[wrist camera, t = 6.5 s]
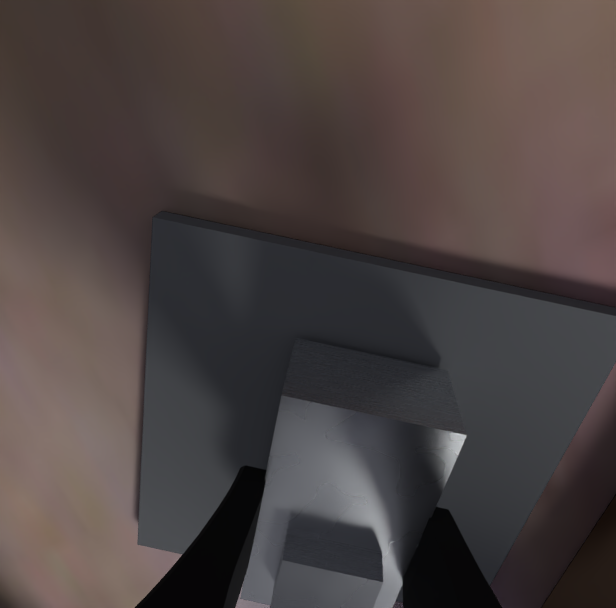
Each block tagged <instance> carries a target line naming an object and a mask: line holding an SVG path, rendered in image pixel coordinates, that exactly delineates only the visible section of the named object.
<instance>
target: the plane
mask: <svg viewBox="0 0 616 608" xmlns="http://www.w3.org/2000/svg"><path fill="white" fill-rule="evenodd" d="M542 608H616V496H615V497H614V499H613V500H612V502H611V503H610V505H609V506H608V508H607V509H606V511H605V512H604V514H603V515H602V517H601V518H600V520H599V521H598V523H597V524H596V526H595V527H594V529H593V531H592V532H591V534H590V535H589V537H588V538H587V540H586V541H585V543H584V544H583V546H582V547H581V549H580V550H579V552H578V553H577V555H576V556H575V558H574V559H573V561H572V562H571V564H570V565H569V567H568V568H567V570H566V571H565V573H564V575H563V576H562V578H561V579H560V581H559V582H558V584H557V585H556V587H555V588H554V590H553V591H552V593H551V594H550V596H549V597H548V599H547V600H546V602H545V603H544V605H543V606H542Z"/></svg>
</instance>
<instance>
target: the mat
mask: <svg viewBox="0 0 616 608" xmlns="http://www.w3.org/2000/svg"><path fill="white" fill-rule="evenodd" d="M296 338H299V339H304V340H309V341H313V342H318V343H323V344H327V345H332V346H337V347H341V348H346V349H351V350H355V351H360V352H365V353H369V354H374V355H379V356H383V357H388V358H393V359H397V360H402V361H406V362H411V363H416V364H420V365H425V366H430V367H434V368H439V369H444V370H448V374H449V377H450V380H451V384H452V387H453V390H454V394H455V397H456V400H457V404H458V407H459V411H460V414H461V417H462V421H463V424H464V427H465V431H466V434H467V436H466V438H465V441H464V443H463V445H462V448H461V450H460V452H459V455H458V457H457V459H456V462H455V464H454V466H453V469H452V471H451V473H450V476H449V478H448V480H447V482H446V485H445V487H444V489H443V492H442V494H441V496H440V499H439V501H438V503H437V506H436V507H440V508H445V509H449V511H450V513H451V514H452V516H453V518H454V520H455V522H456V524H457V526H458V528H459V530H460V532H461V534H462V536H463V538H464V540H465V542H466V543H467V545H468V547H469V549H470V551H471V553H472V555H473V557H474V559H475V560H476V562H477V564H478V566H479V568H480V570H481V572H482V573H483V575H484V577H485V579H486V580H487V582H488V584H489V586H490V585H491V583H492V581H493V579H494V578H495V576H496V574H497V572H498V570H499V569H500V567H501V565H502V563H503V562H504V560H505V558H506V556H507V554H508V553H509V551H510V549H511V547H512V546H513V544H514V542H515V540H516V538H517V537H518V535H519V533H520V531H521V530H522V528H523V526H524V524H525V522H526V521H527V519H528V517H529V515H530V514H531V512H532V510H533V508H534V506H535V505H536V503H537V501H538V499H539V498H540V496H541V494H542V492H543V490H544V489H545V487H546V485H547V483H548V482H549V480H550V478H551V476H552V474H553V473H554V471H555V469H556V467H557V466H558V464H559V462H560V460H561V458H562V457H563V455H564V453H565V451H566V450H567V448H568V446H569V444H570V442H571V441H572V439H573V437H574V435H575V434H576V432H577V430H578V428H579V426H580V425H581V423H582V421H583V419H584V418H585V416H586V414H587V412H588V410H589V409H590V407H591V405H592V403H593V402H594V400H595V398H596V396H597V394H598V393H599V391H600V389H601V387H602V386H603V384H604V382H605V380H606V378H607V377H608V375H609V373H610V371H611V370H612V368H613V366H614V364H615V362H616V308H614V307H610V306H605V305H600V304H595V303H591V302H586V301H581V300H577V299H572V298H567V297H563V296H558V295H553V294H549V293H544V292H539V291H535V290H530V289H525V288H520V287H516V286H511V285H506V284H502V283H497V282H492V281H488V280H483V279H478V278H474V277H469V276H464V275H460V274H455V273H450V272H445V271H441V270H436V269H431V268H427V267H422V266H417V265H413V264H408V263H403V262H399V261H394V260H389V259H385V258H380V257H375V256H370V255H366V254H361V253H356V252H352V251H347V250H342V249H338V248H333V247H328V246H324V245H319V244H314V243H309V242H305V241H300V240H295V239H291V238H286V237H281V236H277V235H272V234H267V233H263V232H258V231H253V230H249V229H244V228H239V227H234V226H230V225H225V224H220V223H216V222H211V221H206V220H202V219H197V218H192V217H188V216H183V215H178V214H174V213H169V212H164V211H161V212H160V213H158V214H157V215H155V216H154V217H153V219H152V241H151V262H150V284H149V306H148V328H147V349H146V371H145V393H144V415H143V436H142V458H141V480H140V502H139V523H138V545H142V546H147V547H151V548H156V549H161V550H165V551H170V552H174V553H179V554H183V553H184V552H185V551H186V550H187V548H188V547H189V546H190V545H191V543H192V542H193V541H194V540H195V538H196V537H197V536H198V535H199V533H200V532H201V531H202V529H203V528H204V526H205V525H206V524H207V522H208V521H209V519H210V518H211V517H212V515H213V514H214V512H215V511H216V510H217V508H218V507H219V505H220V503H221V502H222V500H223V499H224V497H225V496H226V494H227V492H228V491H229V489H230V487H231V486H232V484H233V482H234V480H235V478H236V476H237V474H238V472H239V469H240V468H241V467H243V466H245V465H246V466H251V467H256V468H260V469H265V470H267V465H268V460H269V455H270V450H271V445H272V440H273V435H274V430H275V425H276V420H277V415H278V410H279V405H280V401H281V396H282V391H283V387H284V383H285V379H286V375H287V371H288V367H289V363H290V359H291V355H292V351H293V347H294V343H295V339H296ZM396 601H399V602H403V584H402V587H401V589H400V591H399V594H398V596H397V598H396Z"/></svg>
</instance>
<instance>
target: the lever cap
mask: <svg viewBox="0 0 616 608" xmlns="http://www.w3.org/2000/svg"><path fill="white" fill-rule="evenodd" d="M466 436H467V434H466V431H465V427H464V424H463V421H462V417H461V414H460V411H459V407H458V404H457V400H456V397H455V394H454V390H453V387H452V384H451V380H450V377H449V374H448V370H444V369H439V368H434V367H430V366H425V365H420V364H416V363H411V362H406V361H402V360H397V359H393V358H388V357H383V356H379V355H374V354H369V353H365V352H360V351H355V350H351V349H346V348H341V347H337V346H332V345H327V344H323V343H318V342H313V341H309V340H304V339H299V338H296V339H295V343H294V347H293V351H292V355H291V359H290V363H289V367H288V371H287V375H286V379H285V383H284V387H283V391H282V396H281V401H280V405H279V410H278V415H277V420H276V425H275V430H274V435H273V440H272V445H271V450H270V455H269V460H268V465H267V470H266V475H265V480H264V482H266V483H265V488H264V493H263V498H262V503H261V508H260V513H259V518H258V522H257V527H256V532H255V537H254V542H253V547H252V551H251V556H250V560H249V565H248V569H247V572H246V575H245V579H244V584H243V588H242V593H241V598H240V599H244V600H249V601H254V602H258V603H263V604H267V605H271V606H270V608H393V605H394V603H395V601H396V598H397V596H398V594H399V591H400V589H401V587H402V584H403V578H404V576H405V574H406V571H407V569H408V567H409V564H410V562H411V560H412V557H413V555H414V553H415V550H416V548H417V546H418V543H419V541H420V539H421V536H422V534H423V532H424V529H425V527H426V525H427V522H428V520H429V518H431V517H432V515H433V513H434V510H435V508H436V506H437V503H438V501H439V499H440V496H441V494H442V492H443V489H444V487H445V485H446V482H447V480H448V478H449V476H450V473H451V471H452V469H453V466H454V464H455V462H456V459H457V457H458V455H459V452H460V450H461V448H462V445H463V443H464V441H465V438H466Z"/></svg>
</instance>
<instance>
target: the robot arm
mask: <svg viewBox="0 0 616 608" xmlns="http://www.w3.org/2000/svg"><path fill="white" fill-rule="evenodd" d="M265 475H266V470H265V469H260V468H256V467H251V466H246V465H245V466H243V467H241V468H240V469H239V472H238V474H237V476H236V478H235V480H234V482H233V484H232V486H231V487H230V489H229V491H228V492H227V494H226V496H225V497H224V499H223V500H222V502H221V503H220V505H219V507H218V508H217V510H216V511H215V512H214V514H213V515H212V517H211V518H210V519H209V521H208V522H207V524H206V525H205V526H204V528H203V529H202V531H201V532H200V533H199V535H198V536H197V537H196V538H195V540H194V541H193V542H192V543H191V545H190V546H189V547H188V548H187V550H186V551H185V552H184V553H183V555H182V556H181V557H180V558H179V560H178V561H177V562H176V563H175V564H174V566H173V567H172V568H171V569H170V570H169V571H168V573H167V574H166V575H165V576H164V577H163V578H162V579H161V580H160V582H159V583H158V584H157V585H156V586H155V587H154V588H153V589H152V590H151V591H150V592H149V593H148V594H147V596H146V597H145V598H144V599H143V600H142V601H141V602H140V603H139V604H138V605H137V606H136V607H135V608H235V606H236V603H237V600H238V597H239V594H240V591H241V587H242V584H243V581H244V578H245V575H246V572H247V569H248V565H249V560H250V556H251V551H252V547H253V542H254V537H255V532H256V527H257V522H258V518H259V513H260V508H261V503H262V498H263V493H264V488H265V483H266V482H264V480H265ZM403 607H404V608H502V607H501V605H500V603H499V601H498V600H497V598H496V596H495V594H494V593H493V591H492V589H491V587H490V586H489V584H488V582H487V580H486V579H485V577H484V575H483V573H482V572H481V570H480V568H479V566H478V564H477V562H476V560H475V559H474V557H473V555H472V553H471V551H470V549H469V547H468V545H467V543H466V542H465V540H464V538H463V536H462V534H461V532H460V530H459V528H458V526H457V524H456V522H455V520H454V518H453V516H452V514H451V513H450V511H449V509H445V508H440V507H436V508H435V510H434V513H433V515H432V517H431V518H429V520H428V522H427V525H426V527H425V529H424V532H423V534H422V536H421V539H420V541H419V543H418V546H417V548H416V550H415V553H414V555H413V557H412V560H411V562H410V564H409V567H408V569H407V571H406V574H405V576H404V578H403Z"/></svg>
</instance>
